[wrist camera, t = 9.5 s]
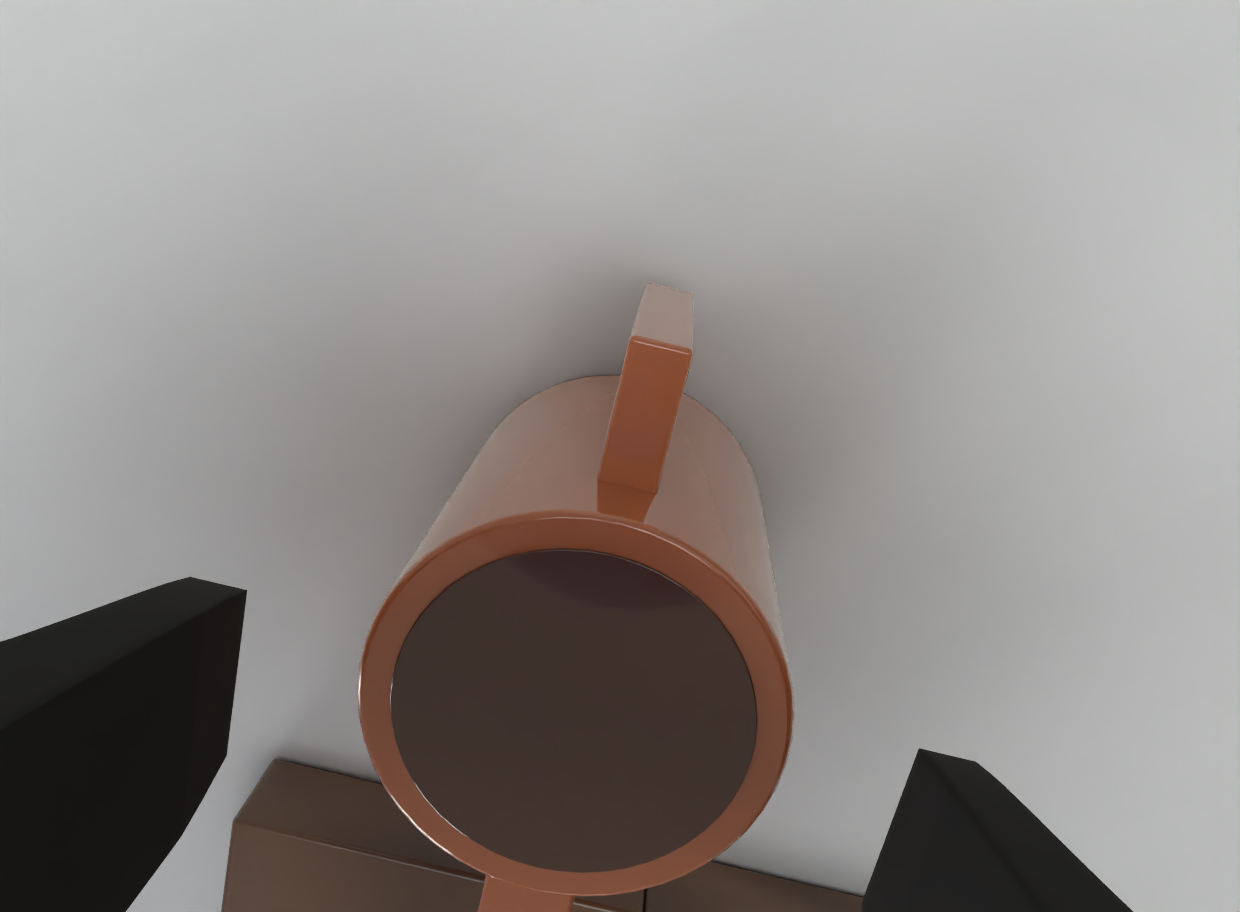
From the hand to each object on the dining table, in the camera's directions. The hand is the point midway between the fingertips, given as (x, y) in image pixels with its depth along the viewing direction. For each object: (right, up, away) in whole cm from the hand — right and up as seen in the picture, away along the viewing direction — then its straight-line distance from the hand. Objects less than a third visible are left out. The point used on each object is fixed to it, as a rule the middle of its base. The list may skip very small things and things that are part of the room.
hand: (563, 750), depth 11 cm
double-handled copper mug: (0, +2, +6) cm, 7 cm away
